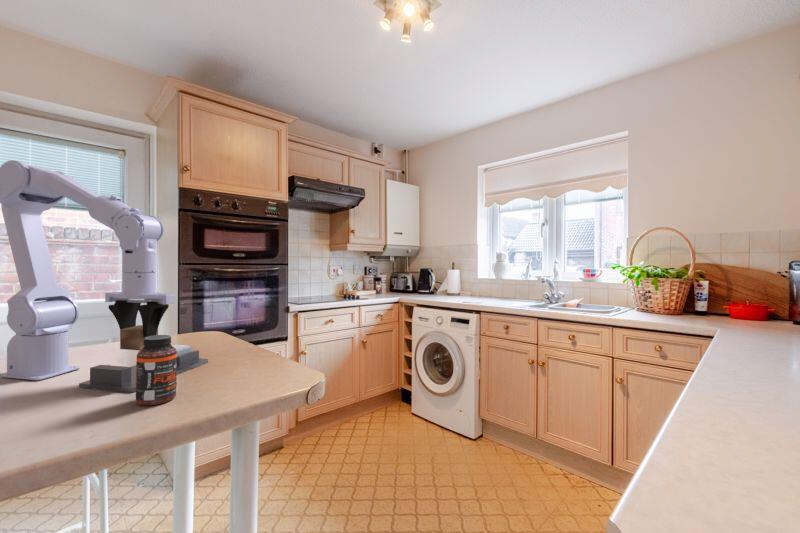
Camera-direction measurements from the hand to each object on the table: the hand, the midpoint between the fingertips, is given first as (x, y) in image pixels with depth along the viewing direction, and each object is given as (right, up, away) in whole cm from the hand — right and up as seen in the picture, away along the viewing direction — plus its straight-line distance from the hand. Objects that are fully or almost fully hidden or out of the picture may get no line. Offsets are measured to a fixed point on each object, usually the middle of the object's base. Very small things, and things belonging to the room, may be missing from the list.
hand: (139, 337), depth 73 cm
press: (0, -9, +3) cm, 9 cm away
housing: (0, -2, 0) cm, 2 cm away
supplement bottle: (+11, -9, -11) cm, 18 cm away
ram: (+1, -7, +9) cm, 12 cm away
